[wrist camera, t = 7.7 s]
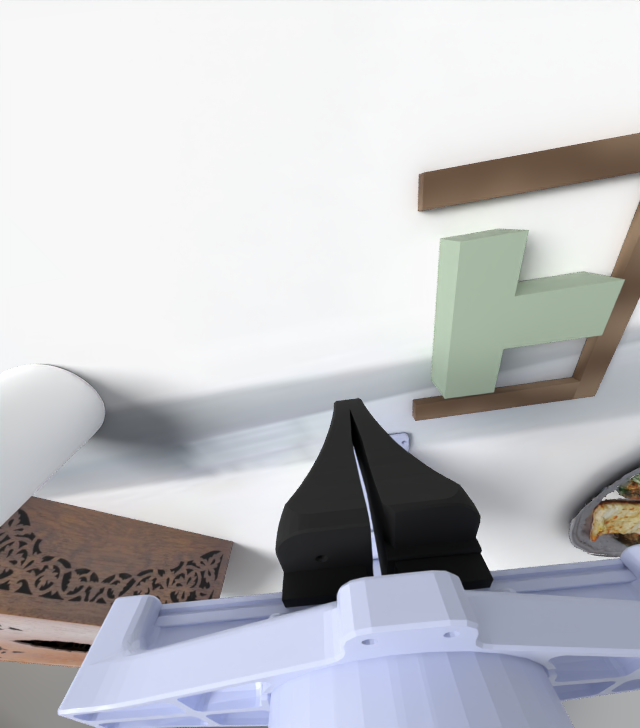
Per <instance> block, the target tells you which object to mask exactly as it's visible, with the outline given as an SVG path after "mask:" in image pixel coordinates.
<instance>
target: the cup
mask: <svg viewBox="0 0 640 728" xmlns="http://www.w3.org/2000/svg"><path fill="white" fill-rule="evenodd" d="M104 418H105V407H104V403H103V401H102V399H101V397H100V395H99V394H98V393H97V391H96V390H95V389H94V388H93V387H92V386H91V385H90V384H89V383H87V382H86V381H85V380H83V379H82V378H80V377H79V376H77V375H75V374H74V373H72V372H69V371H67V370H65V369H62V368H59V367H55V366H51V365H44V364H29V365H22V366H18V367H15V368H12V369H9V370H7V371H5V372H2V373H0V527H1V526H2V525H3V524H4V523H5V522H6V521H7V520H8V519H9V518H10V517H11V516H12V515H13V514H14V513H15V512H16V511H17V510H18V509H19V508H20V507H21V506H22V505H23V504H24V503H25V502H26V501H27V500H28V499H29V498H30V497H31V496H32V495H33V494H34V493H35V492H36V491H37V490H38V489H39V488H40V487H41V486H42V485H43V484H44V483H45V482H46V481H47V480H48V479H49V478H50V477H51V476H52V475H53V474H55V473H56V472H57V471H58V470H59V469H60V468H61V467H62V466H63V465H64V464H65V463H66V462H67V461H68V460H69V459H70V458H71V457H72V456H73V455H74V454H75V453H76V452H77V451H78V450H79V449H80V448H81V447H82V446H83V445H84V444H85V443H86V442H87V441H88V440H89V439H90V438H91V437H92V436H93V435H94V434H95V433H96V432H97V431H98V430H99V428H100V427H101V426H102V424H103V421H104Z"/></svg>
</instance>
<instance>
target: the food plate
mask: <svg viewBox="0 0 640 728" xmlns="http://www.w3.org/2000/svg"><path fill="white" fill-rule="evenodd" d="M637 474H638V475H637ZM634 475H636V476H634ZM632 476H634V477H633V478H631V477H632ZM630 478H631V479H630ZM619 485H620V486H619ZM617 486H619V487H617ZM603 489H604V490H603ZM603 489H602V490H603V491H602V490H601V491H602V492H601V493H600V494H599V495H598V496H597V497H595V498H593V499H592V501H591V502H590V503H588V504H587V505H586V503H585V507H583V509H581V510H580V513H578V514H577V516H576V517H574V518H573V519H572V520H571V524H570V527H571V528H570V529H569V530H570V531H569V532H570V533H569V537H570V538H569V539H570V541H571V543H572V544H573V545H574V547H576V548H579V549H581V550H583V551H584V552H588V553H587V554H589V553H594V554H591V555H596V556H604V557H620V556H621V554H622V552H623V551H624V550H625V549H627V548H628V547H630V546H633V545H637V544H640V467H639V468H637V469H635V470H633V471H632V472H630V473H628V474H625V475H624V476H623V477H622V478H621V479H620V480H617V481H616V482H614V483H613V484H612V485H610V486H609V487H608V488H607V487H605V488H603ZM614 490H617V491H618V493H619V495H622V496H624V497H625V498H626V499H621V498H619V499H617V500H616V499H612V500H607V499H606V500H605V501H602V499H603V497H606V495H607V494H609V493H611V492H614ZM627 498H628V499H627ZM590 499H591V498H590ZM597 554H600V555H597ZM601 554H604V555H601Z"/></svg>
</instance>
